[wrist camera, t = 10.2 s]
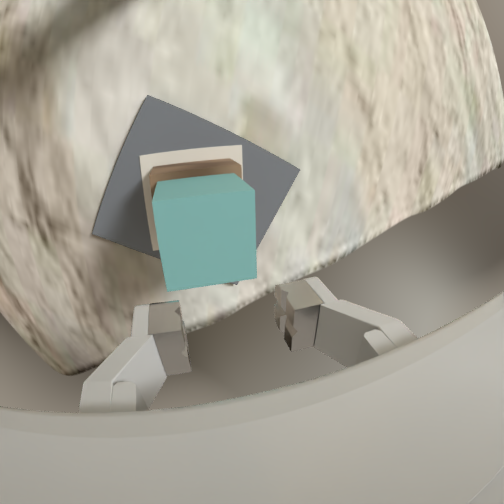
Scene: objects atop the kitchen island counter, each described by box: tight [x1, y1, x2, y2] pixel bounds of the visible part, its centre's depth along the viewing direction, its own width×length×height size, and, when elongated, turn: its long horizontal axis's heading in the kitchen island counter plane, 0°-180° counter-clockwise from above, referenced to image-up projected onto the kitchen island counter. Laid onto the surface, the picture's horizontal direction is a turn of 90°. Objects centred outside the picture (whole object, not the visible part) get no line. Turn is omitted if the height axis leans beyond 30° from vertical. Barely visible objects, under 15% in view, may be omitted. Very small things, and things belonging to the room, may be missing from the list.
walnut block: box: [149, 158, 242, 199], centre depth 20 cm, size 6×6×4 cm
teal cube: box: [152, 173, 257, 292], centre depth 16 cm, size 5×5×5 cm
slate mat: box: [92, 95, 300, 285], centre depth 22 cm, size 14×12×1 cm
